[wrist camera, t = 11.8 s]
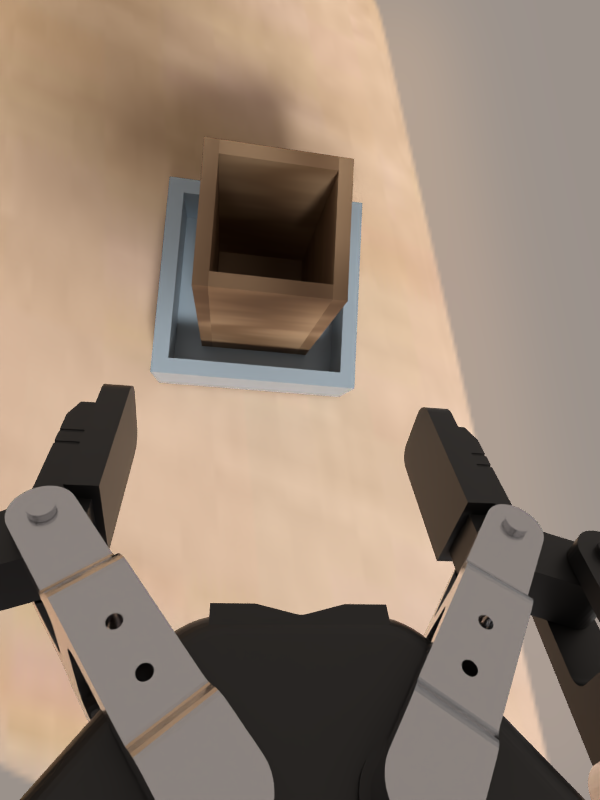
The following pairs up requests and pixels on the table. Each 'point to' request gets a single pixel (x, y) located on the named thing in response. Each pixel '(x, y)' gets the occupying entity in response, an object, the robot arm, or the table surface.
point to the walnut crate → (270, 246)
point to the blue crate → (236, 368)
